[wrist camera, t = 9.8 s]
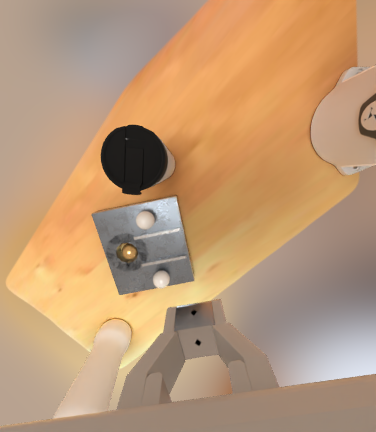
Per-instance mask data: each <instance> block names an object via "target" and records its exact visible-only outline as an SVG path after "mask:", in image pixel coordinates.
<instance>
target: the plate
mask: <svg viewBox="0 0 376 432" xmlns="http://www.w3.org/2000/svg"><path fill="white" fill-rule="evenodd" d="M143 211H148V212H150V213H152V214H153V216H154V218H155V222H154V225H153V226H152V227H151V228H150V229H146V230H144V229H141V228H139V227H138V226H137V224H136V217H137V215H138V214H139V213H140V212H143ZM92 217H93V220H94V223H95V226H96V229H97V231H98V234H99V237H100V240H101V243H102V246H103V249H104V252H105V255H106V258H107V260H108V263H109V266H110V269H111V272H112V275H113V278H114V281H115V284H116V286H117V289H118V292H119V295H123V294H128V293H133V292H138V291H144V290H149V289H154V288H157V287H156V286H155V285H154V283H153V276H154V274H155V273H156V272H158V271H166V272H167V273H168V274H169V277H170V281H169V284H168V285H167V286H170V285H175V284H181V283H186V282H191V281H194V273H193V269H192V264H191V260H190V255H189V250H188V246H187V241H186V237H185V232H184V228H183V223H182V218H181V214H180V209H179V205H178V200H177V195H174V196H169V197H164V198H159V199H155V200H150V201H145V202H140V203H135V204H130V205H125V206H120V207H115V208H110V209H105V210H101V211H97V212H95V213H92ZM122 243H130V244H133V245H134V246H135V247H136V248H137V251H138V255H137V257H136V258H134V259H131V260H129V259H126V258H124V257H123V255H122V252H121V249H120V245H121V244H122Z"/></svg>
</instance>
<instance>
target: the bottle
mask: <svg viewBox="0 0 376 432" xmlns="http://www.w3.org/2000/svg"><path fill="white" fill-rule="evenodd" d="M131 334H132V332H131V328H130V326H129V325H128V324H127V323H126V322H125V321H123V320H120V319H111V320H109V321H107V322H105V323H104V324H103V325H102V327H101V328H100V329H99V331H98V332H97V334H96V336H95V339H94V345H93V348H92V350H91V352H90V354H89V356H88V358H87V359H86V361H85V363H84V365H83V366H82V368H81V370H80V371H79V373H78V375H77V376H76V378H75V380H74V382H73V383H72V385H71V387H70V388H69V390H68V392H67V394H66V395H65V397H64V399H63V400H62V402H61V404H60V406H59V407H58V409H57V411H56V413H55V415H54V417H53V419H54V418H61V417H69V416H76V415H83V414H90V413H97V412H105V411H108V407H109V403H110V400H111V396H112V392H113V389H114V385H115V381H116V378H117V374H118V370H119V366H120V363H121V360H122V357H123V355H124V353H125V352H126V351H127V349H128V347H129V344H130V341H131Z"/></svg>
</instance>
